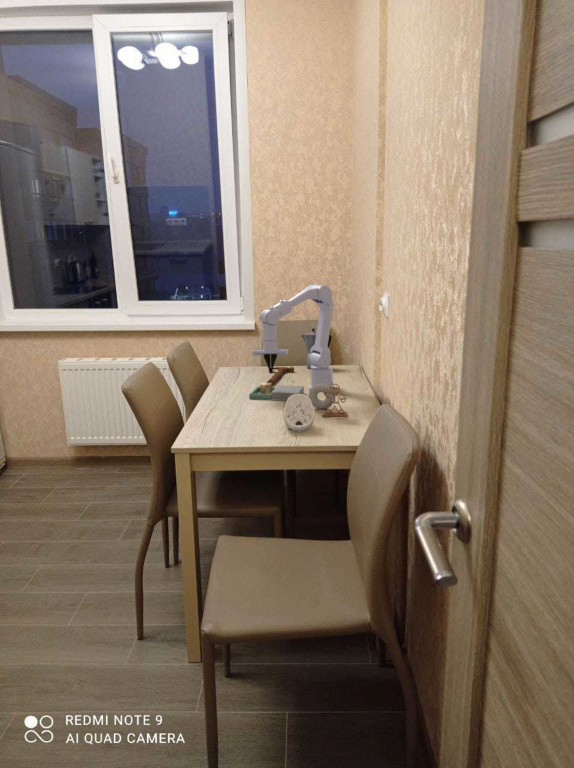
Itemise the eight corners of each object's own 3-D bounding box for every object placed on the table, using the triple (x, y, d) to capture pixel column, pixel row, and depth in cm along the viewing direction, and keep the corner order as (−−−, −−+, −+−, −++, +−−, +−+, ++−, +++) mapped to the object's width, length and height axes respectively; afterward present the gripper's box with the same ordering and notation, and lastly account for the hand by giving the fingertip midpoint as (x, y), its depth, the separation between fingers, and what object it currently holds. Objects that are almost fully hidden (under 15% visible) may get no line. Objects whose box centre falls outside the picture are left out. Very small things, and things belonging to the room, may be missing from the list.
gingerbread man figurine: (346, 414, 205) (347, 382, 202) (346, 417, 201) (347, 385, 198) (322, 414, 205) (322, 382, 203) (322, 417, 202) (322, 385, 199)
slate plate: (303, 393, 235) (303, 386, 234) (298, 400, 224) (298, 393, 223) (278, 392, 237) (278, 385, 237) (271, 399, 226) (271, 392, 225)
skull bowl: (313, 414, 201) (314, 391, 192) (314, 445, 191) (315, 422, 182) (283, 414, 201) (283, 391, 192) (283, 446, 191) (283, 423, 182)
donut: (307, 409, 211) (307, 384, 209) (309, 407, 215) (309, 381, 212) (334, 410, 209) (334, 384, 207) (335, 408, 213) (335, 382, 210)
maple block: (271, 382, 235) (262, 382, 236) (269, 385, 232) (259, 384, 232) (271, 392, 236) (262, 391, 237) (269, 394, 232) (260, 394, 233)
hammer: (280, 387, 247) (294, 372, 276) (280, 380, 246) (294, 366, 275) (254, 386, 250) (271, 372, 278) (254, 379, 249) (271, 365, 277)
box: (277, 392, 238) (277, 387, 237) (270, 399, 226) (270, 394, 226) (257, 391, 239) (257, 386, 239) (249, 398, 228) (249, 394, 228)
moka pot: (302, 365, 289) (301, 327, 284) (332, 366, 287) (332, 327, 282) (300, 369, 280) (299, 329, 275) (331, 370, 277) (331, 329, 273)
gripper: (287, 337, 230) (288, 369, 234) (252, 338, 230) (253, 370, 234) (287, 340, 223) (288, 373, 227) (251, 341, 224) (252, 374, 227)
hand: (270, 372), depth 230 cm, fingers closed
